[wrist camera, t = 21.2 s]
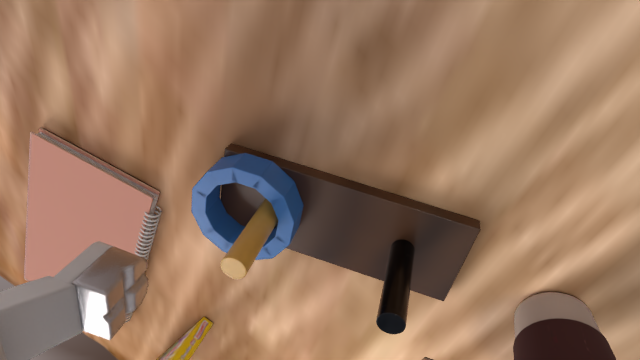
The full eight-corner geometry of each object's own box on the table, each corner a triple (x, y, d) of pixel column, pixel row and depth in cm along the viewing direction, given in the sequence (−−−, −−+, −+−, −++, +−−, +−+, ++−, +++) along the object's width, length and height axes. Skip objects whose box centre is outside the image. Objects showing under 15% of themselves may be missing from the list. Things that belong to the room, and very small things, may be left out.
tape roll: (204, 223, 49) (189, 240, 47) (209, 140, 44) (193, 154, 41) (293, 253, 48) (283, 272, 45) (310, 172, 42) (301, 189, 40)
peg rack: (223, 217, 50) (169, 286, 41) (231, 142, 45) (170, 201, 35) (444, 291, 47) (441, 384, 37) (479, 220, 42) (488, 307, 32)
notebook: (131, 324, 66) (123, 334, 64) (33, 271, 66) (22, 280, 64) (169, 195, 51) (159, 204, 49) (42, 126, 51) (28, 133, 49)
